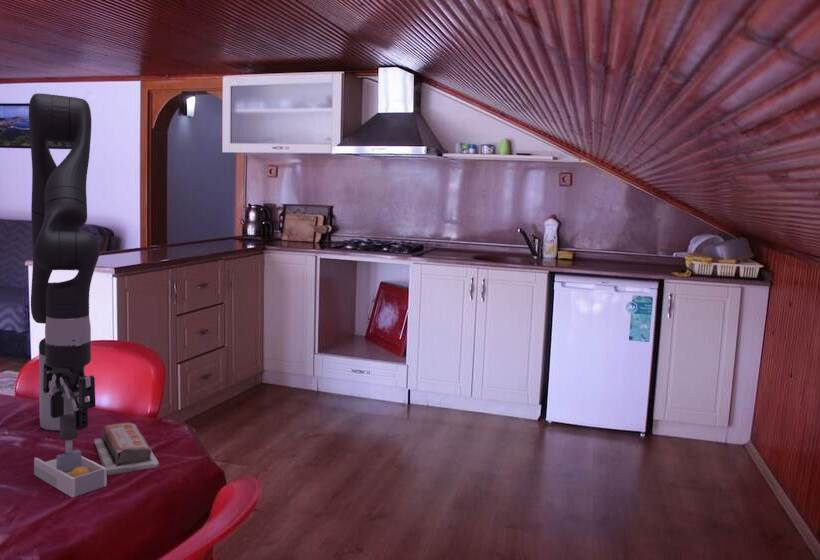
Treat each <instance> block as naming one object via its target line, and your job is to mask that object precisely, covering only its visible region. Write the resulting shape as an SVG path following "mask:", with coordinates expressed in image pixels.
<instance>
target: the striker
mask: <svg viewBox="0 0 820 560" xmlns="http://www.w3.org/2000/svg"><path fill="white" fill-rule="evenodd" d="M78 433H79V430H76V429H74V414H68V415H63V416H61V417H60V430H59V439H60V441H65V443H64V445H65V448H64V449H65V450H64V451H65V452H64V453H61V454H57V455H56V458H55V459H56V461H57V469H58V470H61V471H63V472H65V471H68V470H71V469H74V468H76V467H79V466H81V456H82V450H79V449H74V450H73V440H75V439H77V438H78V435H79V434H78Z"/></svg>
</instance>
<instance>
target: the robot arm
mask: <svg viewBox="0 0 820 560" xmlns="http://www.w3.org/2000/svg"><path fill="white" fill-rule="evenodd" d="M91 113H92V112H91V108H90V105H89V103H88V102H87V101H86V100H85V99H83V98H79V97H75V96H66V95H65V96H64V95H58V94H50V93H49V94H48V93H34V94H32V96H31V98H30V100H29V104H28V125H29V126H28V127H29V140H30V152H31V153H30V155H31V168H32V169H31V171H32V173H31V178H32V180H31V181H32V182H31V208H30V209H31V239H32V242H31V243H32V271H31V272H32V276H31V287H30V288H31V290H30V312H31V317H32V319H33V321H34V322H35V323H37V324H45V325H44V326H45V327H44V338H43V339H41V340H40V341H39V343H38V361H39V362H38V367H39V372H38V373H39V384H38V387H39V388H38V395H39V396H38V399H39V402H38V403H39V407H38V408H39V424H40V425H39V427H40V428H41V429H43V430H47V431H60V417H61V416H63V415H68V414H74V429H76V430H78V431H79V430H83V429H84V430H85V429H87V427H88V425H89V423H88V420H89V419H88V412H89V411H88V410H89V409H93V408H96V384H95V383H96V382H95V376H94V375H93V374H91V375H85V372H86V371H85V367H86V366H87V365H89V364H90V363H91V360H92V359H91V358H92V353H91V351H92V349H91V348H92V345H91V344H92V339H91V338H92V337H91V336H92V335H91V333H92V332H91V331H92V328H91V327H92V326H91V319H90V290H91V284H92V281H93V280H92V279H93V276H94V272H95V269H96V267H97V263H98V260H99V257H100V252H101V247H100V242H99V240H98V238H97V237H96V236H95V234H93V233H92V232H88V231H81V228H82V227H83V226H84V225H85V224H86V223H87V220H88V201H87V199H88V198H87V177H88V176H87V175H88V169H89V163H90V151H91V143H92V142H91V141H92V114H91ZM48 142H54V143H64V144H65V143H66V144H68V143H69V144H72V147H71V149H70V151H69V152H68V153H67V155H66V156H65V158H63V160H62V161H61V162H60V163H59V164H58V165H57V163H56V162H55V160H54V158H53V156H52V153H51V150H50V148H49V147H50V146H49V144H48ZM75 270H76V271H77V274H76V275H75V276H74V277H73V278H71V279H68V280H64V281H59V282H49V281H50V278H51V274H52V272H53V271H75Z"/></svg>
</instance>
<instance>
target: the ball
mask: <svg viewBox="0 0 820 560" xmlns="http://www.w3.org/2000/svg"><path fill="white" fill-rule="evenodd" d="M86 473H90V472H89V470H88V469H87V468H86V467H83V466H79V467H76V468H74V469H73V470H72V471H71V473H70V476H72V477H73V478H74V477H77V476H80V475H83V474H86Z"/></svg>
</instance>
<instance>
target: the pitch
mask: <svg viewBox="0 0 820 560" xmlns="http://www.w3.org/2000/svg"><path fill="white" fill-rule="evenodd" d="M89 460H90V459H88V458H86V457H84V456H83V455H81V466H83V467H86V468H87V469H88V461H89ZM57 470H58V469H57V461H56V458H54V459H50V460H47V461H44V460H42V459H41V458H38V457H33V472H34V473H33V474H34V476H35V477H37V478H38V479H41V480H42V481H43V482H44V483H47V484H48V485H50V486H51V487H54V488H55V489H57ZM72 470H73V469H71V470H68V471H65V472H64V473H66V474H68V475H70V473H71V471H72Z"/></svg>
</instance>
